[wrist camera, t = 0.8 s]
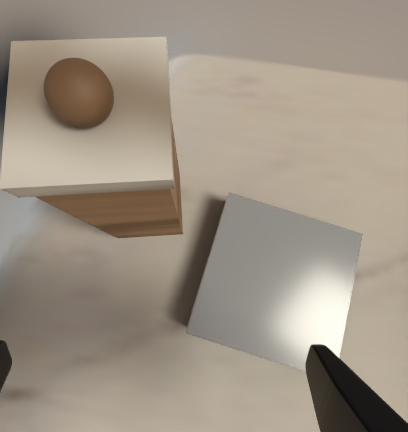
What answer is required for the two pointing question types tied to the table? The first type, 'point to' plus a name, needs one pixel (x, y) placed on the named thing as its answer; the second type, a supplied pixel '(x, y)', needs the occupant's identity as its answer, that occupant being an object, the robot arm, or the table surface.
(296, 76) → the table surface
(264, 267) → the stone block
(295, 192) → the table surface
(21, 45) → the box
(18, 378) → the table surface
